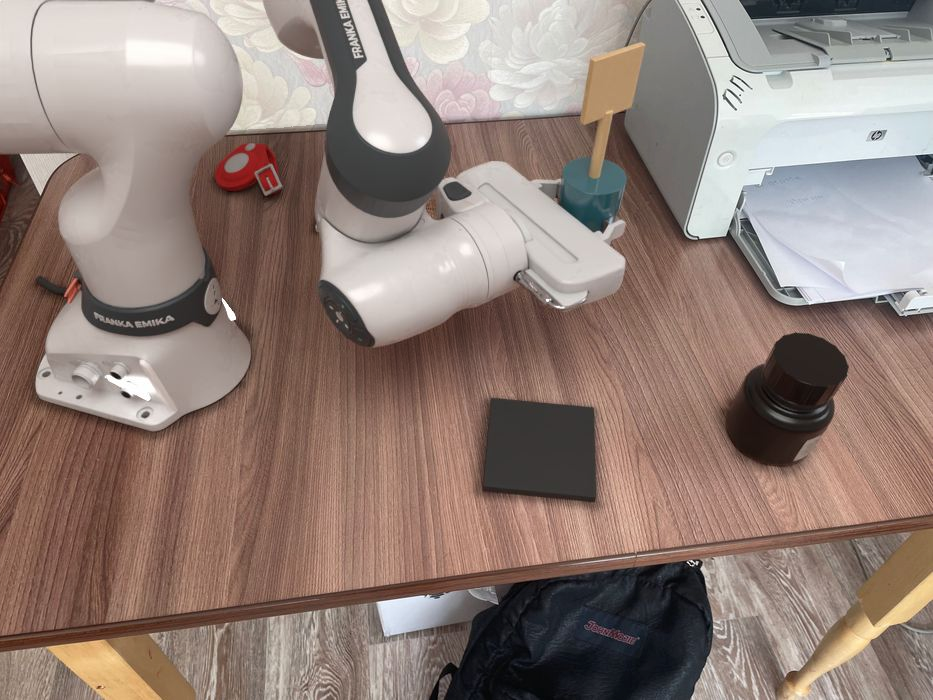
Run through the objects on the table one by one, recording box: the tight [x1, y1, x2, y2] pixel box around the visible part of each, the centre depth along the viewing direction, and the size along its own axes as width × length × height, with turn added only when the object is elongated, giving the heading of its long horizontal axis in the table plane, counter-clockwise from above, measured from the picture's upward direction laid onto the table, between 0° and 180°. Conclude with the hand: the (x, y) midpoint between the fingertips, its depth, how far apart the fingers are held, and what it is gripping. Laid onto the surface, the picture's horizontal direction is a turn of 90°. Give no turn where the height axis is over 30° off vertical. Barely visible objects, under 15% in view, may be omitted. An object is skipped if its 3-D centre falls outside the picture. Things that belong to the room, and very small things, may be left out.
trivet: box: [482, 397, 597, 503], centre depth 73 cm, size 11×11×1 cm
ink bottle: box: [725, 332, 850, 467], centre depth 71 cm, size 10×9×12 cm
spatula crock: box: [556, 41, 646, 247], centre depth 69 cm, size 6×6×22 cm
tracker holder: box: [214, 142, 283, 197], centre depth 102 cm, size 12×4×10 cm
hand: (594, 204), depth 73 cm, fingers closed on spatula crock, 6 cm apart
